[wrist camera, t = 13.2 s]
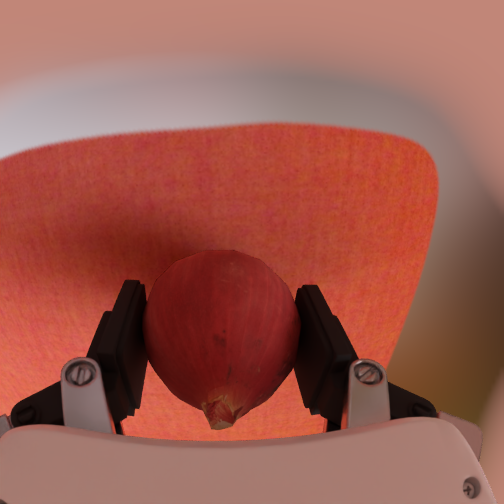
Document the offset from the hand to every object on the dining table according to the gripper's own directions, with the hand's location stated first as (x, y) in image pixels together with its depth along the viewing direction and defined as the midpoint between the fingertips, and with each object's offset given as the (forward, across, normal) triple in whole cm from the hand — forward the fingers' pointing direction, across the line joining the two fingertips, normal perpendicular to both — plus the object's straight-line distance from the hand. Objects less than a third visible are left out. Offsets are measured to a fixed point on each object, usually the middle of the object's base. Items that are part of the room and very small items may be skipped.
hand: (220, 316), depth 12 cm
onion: (+3, 0, 0) cm, 3 cm away
